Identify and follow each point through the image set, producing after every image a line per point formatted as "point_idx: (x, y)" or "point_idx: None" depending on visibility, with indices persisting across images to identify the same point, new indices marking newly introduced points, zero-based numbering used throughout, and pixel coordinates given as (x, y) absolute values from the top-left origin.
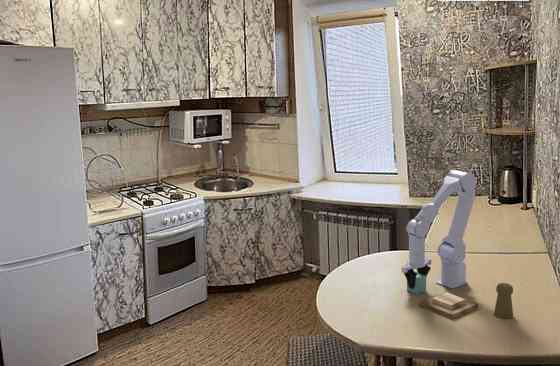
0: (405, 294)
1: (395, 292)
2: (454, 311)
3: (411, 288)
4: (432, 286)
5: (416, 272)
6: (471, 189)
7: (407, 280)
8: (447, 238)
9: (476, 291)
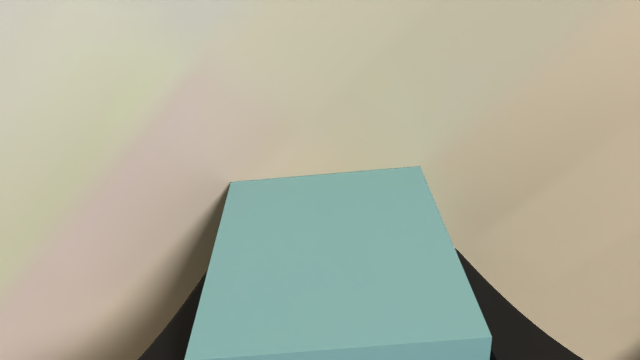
0: (123, 267)
1: (31, 158)
2: None
3: None
4: (591, 265)
5: (477, 357)
6: None
7: (157, 350)
8: None
9: None
